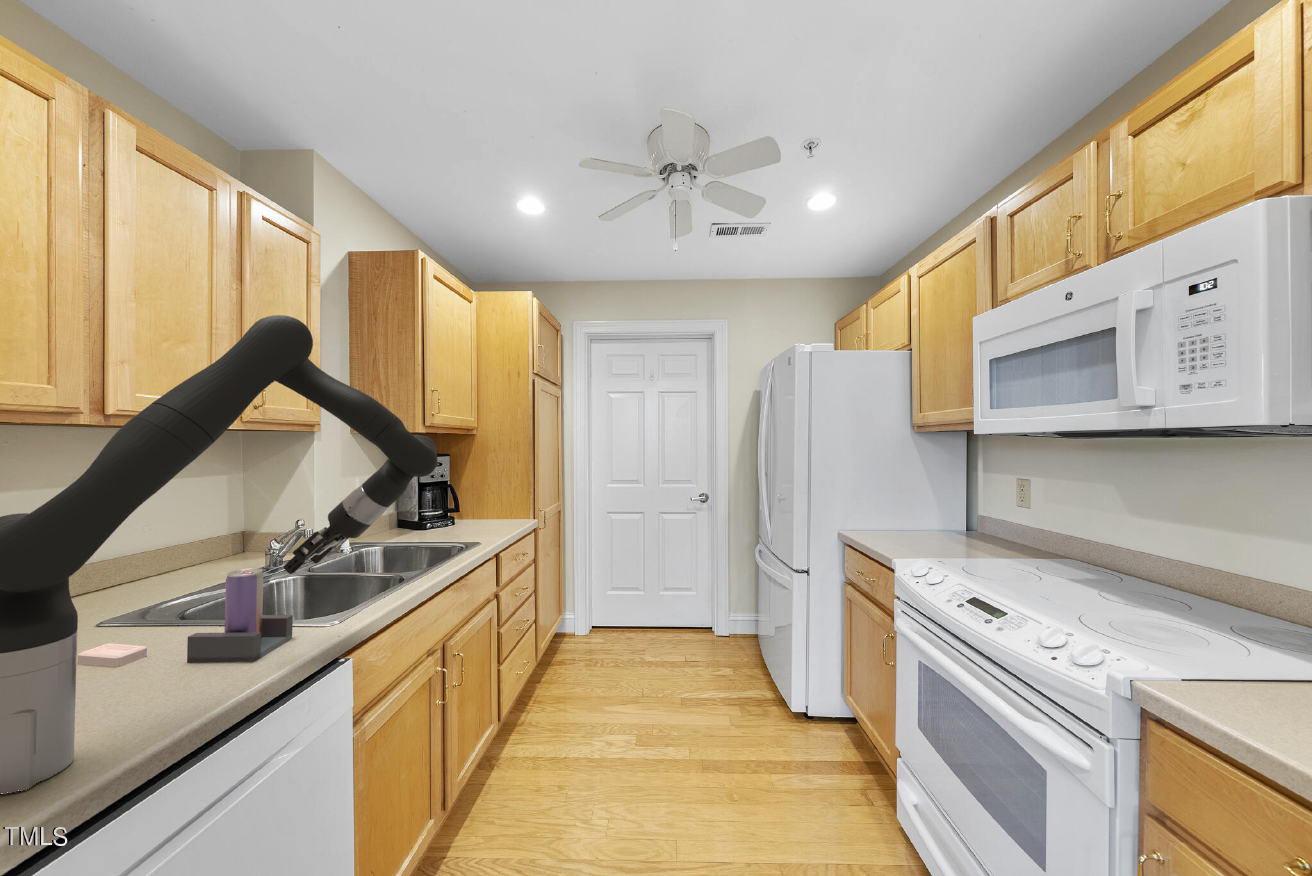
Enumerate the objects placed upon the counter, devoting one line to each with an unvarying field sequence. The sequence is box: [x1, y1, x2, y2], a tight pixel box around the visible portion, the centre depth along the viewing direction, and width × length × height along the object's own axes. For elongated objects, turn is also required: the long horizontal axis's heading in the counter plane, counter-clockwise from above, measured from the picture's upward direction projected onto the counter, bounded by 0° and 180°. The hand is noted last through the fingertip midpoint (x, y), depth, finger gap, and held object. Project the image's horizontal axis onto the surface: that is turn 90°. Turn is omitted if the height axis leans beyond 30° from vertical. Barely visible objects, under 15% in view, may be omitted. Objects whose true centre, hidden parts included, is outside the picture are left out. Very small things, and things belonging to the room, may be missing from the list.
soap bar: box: [76, 642, 148, 668], centre depth 99 cm, size 5×9×2 cm, turn 84°
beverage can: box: [223, 567, 264, 639], centre depth 104 cm, size 6×6×15 cm
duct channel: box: [186, 614, 294, 664], centre depth 105 cm, size 12×12×5 cm
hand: (300, 565), depth 106 cm, fingers open, 8 cm apart
